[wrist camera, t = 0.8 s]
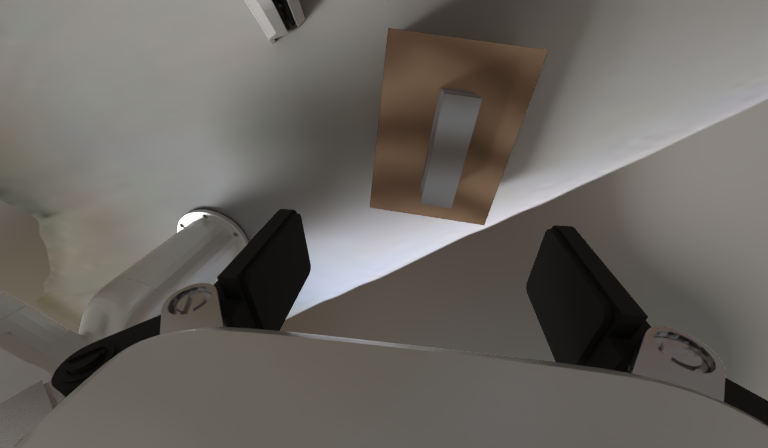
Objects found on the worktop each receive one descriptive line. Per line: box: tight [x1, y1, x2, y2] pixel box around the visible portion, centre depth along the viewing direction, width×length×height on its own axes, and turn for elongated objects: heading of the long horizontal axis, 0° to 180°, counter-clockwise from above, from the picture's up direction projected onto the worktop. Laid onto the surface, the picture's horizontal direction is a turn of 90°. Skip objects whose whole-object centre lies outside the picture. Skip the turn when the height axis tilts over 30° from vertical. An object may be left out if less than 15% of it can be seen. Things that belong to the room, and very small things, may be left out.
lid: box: [370, 28, 548, 225], centre depth 27 cm, size 18×14×6 cm
